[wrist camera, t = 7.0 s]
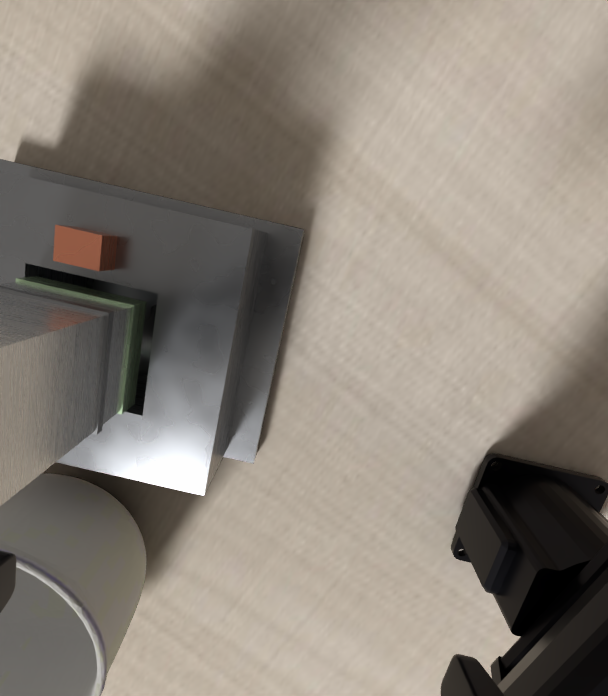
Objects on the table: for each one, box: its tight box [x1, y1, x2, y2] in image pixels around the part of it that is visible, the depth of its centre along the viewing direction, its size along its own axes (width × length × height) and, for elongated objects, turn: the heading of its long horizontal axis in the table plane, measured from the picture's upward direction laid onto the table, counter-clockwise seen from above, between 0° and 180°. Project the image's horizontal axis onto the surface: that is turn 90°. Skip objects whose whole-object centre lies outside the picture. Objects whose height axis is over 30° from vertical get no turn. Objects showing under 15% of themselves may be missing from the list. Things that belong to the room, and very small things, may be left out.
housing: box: [0, 159, 305, 496], centre depth 17 cm, size 14×12×6 cm
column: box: [0, 276, 147, 506], centre depth 12 cm, size 4×4×7 cm
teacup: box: [0, 473, 147, 696], centre depth 20 cm, size 14×11×8 cm
